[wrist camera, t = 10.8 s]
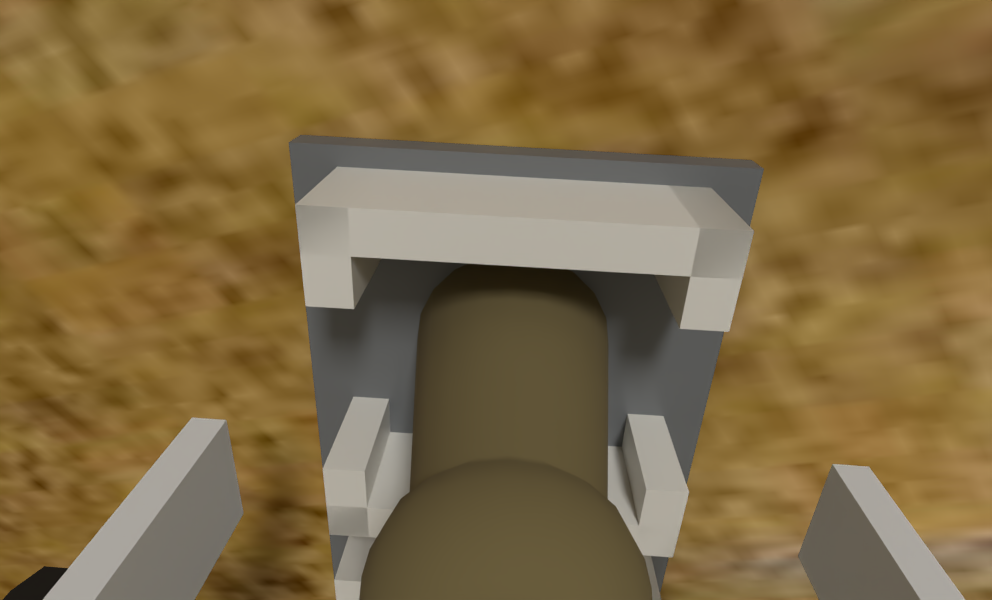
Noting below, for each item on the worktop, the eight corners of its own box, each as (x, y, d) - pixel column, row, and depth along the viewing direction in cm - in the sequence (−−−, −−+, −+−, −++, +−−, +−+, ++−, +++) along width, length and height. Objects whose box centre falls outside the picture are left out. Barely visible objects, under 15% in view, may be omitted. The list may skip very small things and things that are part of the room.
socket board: (751, 160, 17) (909, 273, 10) (630, 677, 28) (666, 909, 21) (300, 135, 18) (148, 228, 10) (350, 658, 28) (292, 881, 21)
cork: (454, 436, 21) (393, 822, 11) (388, 283, 19) (236, 606, 9) (627, 395, 20) (729, 781, 10) (582, 229, 18) (659, 524, 8)
